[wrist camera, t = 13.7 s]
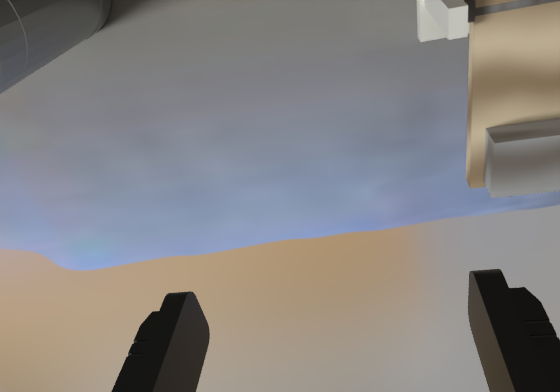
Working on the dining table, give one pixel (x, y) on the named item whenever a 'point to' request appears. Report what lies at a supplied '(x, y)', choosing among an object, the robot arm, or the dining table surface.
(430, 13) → the pivot stand
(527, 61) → the beam
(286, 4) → the dining table surface
